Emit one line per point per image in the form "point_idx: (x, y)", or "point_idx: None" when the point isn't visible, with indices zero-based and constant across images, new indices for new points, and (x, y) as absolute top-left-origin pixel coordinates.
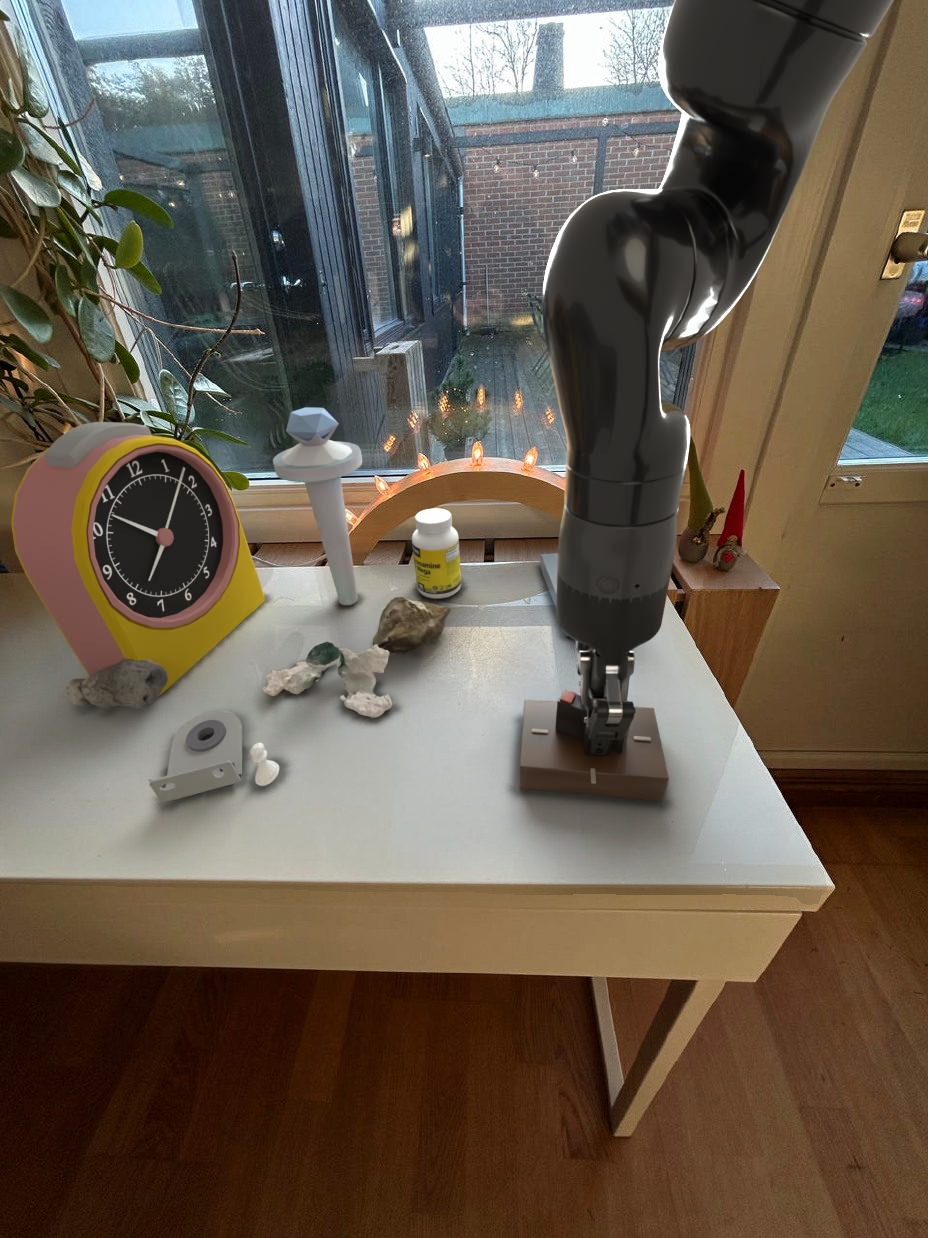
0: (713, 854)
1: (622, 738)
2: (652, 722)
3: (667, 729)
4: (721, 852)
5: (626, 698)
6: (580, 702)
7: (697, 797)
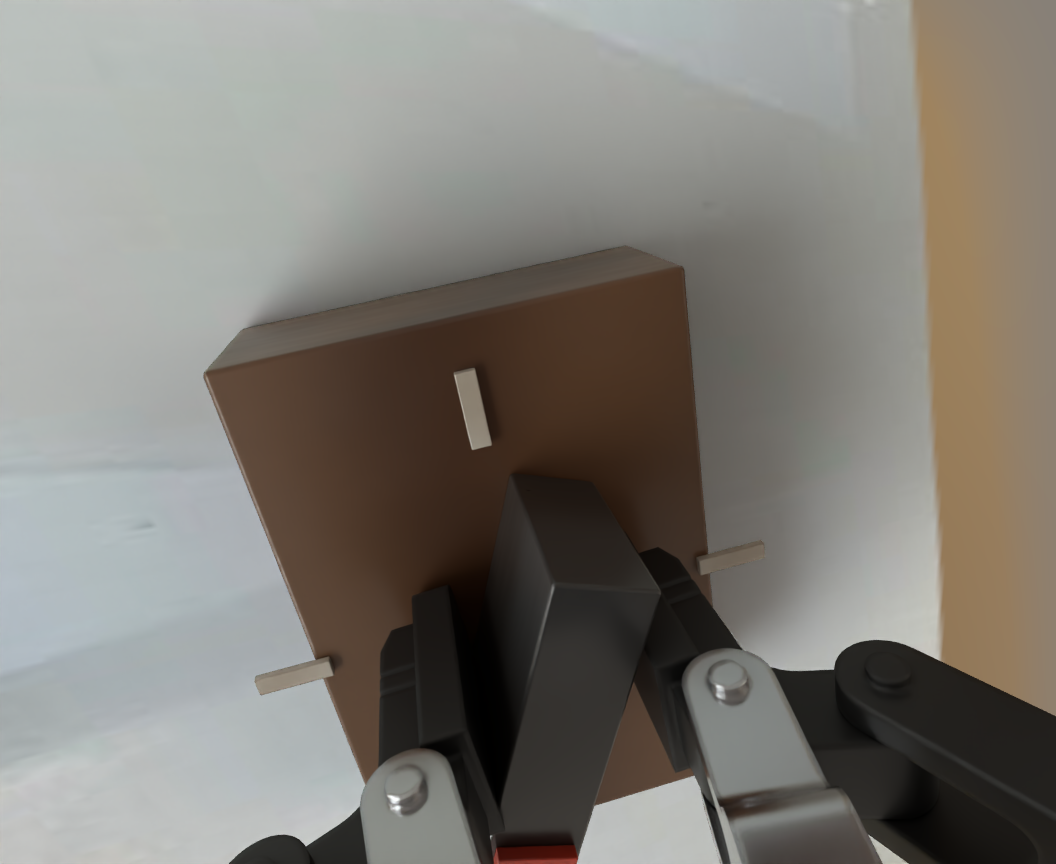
0: (817, 42)
1: (938, 661)
2: (330, 371)
3: (191, 241)
4: (805, 7)
5: (868, 844)
6: (546, 816)
7: (570, 96)
